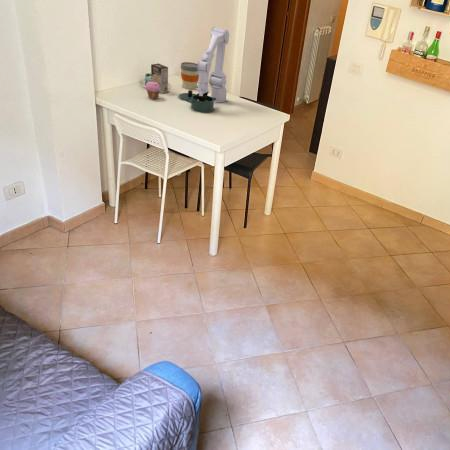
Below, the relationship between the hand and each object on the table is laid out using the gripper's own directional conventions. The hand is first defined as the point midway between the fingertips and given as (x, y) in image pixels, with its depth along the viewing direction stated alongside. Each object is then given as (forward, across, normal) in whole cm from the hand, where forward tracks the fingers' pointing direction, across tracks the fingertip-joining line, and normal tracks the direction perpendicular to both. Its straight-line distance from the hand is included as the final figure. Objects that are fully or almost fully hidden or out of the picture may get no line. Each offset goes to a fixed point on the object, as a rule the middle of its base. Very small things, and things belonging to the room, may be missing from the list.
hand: (202, 104), depth 263 cm
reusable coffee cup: (+3, -40, -16) cm, 43 cm away
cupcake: (+3, -6, -31) cm, 32 cm away
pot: (+3, 0, 0) cm, 3 cm away
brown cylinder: (+2, 0, 0) cm, 2 cm away
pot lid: (+2, -16, -11) cm, 20 cm away
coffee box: (+3, -21, -31) cm, 38 cm away
